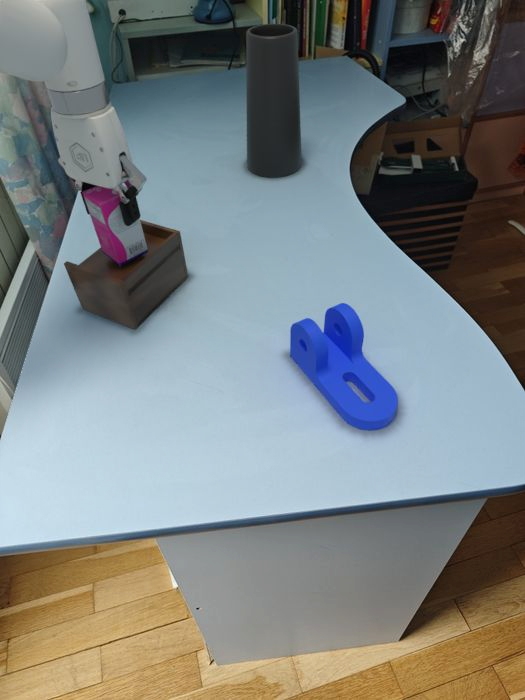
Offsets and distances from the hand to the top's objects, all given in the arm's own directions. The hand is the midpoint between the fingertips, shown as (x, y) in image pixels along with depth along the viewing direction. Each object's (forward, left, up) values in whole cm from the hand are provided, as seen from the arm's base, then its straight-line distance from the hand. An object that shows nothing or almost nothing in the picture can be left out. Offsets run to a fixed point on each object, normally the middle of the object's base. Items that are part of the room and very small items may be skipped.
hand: (114, 215), depth 77 cm
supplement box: (0, 0, -7) cm, 7 cm away
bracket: (+42, -3, -16) cm, 45 cm away
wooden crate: (0, 0, -16) cm, 16 cm away
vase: (0, +55, -16) cm, 57 cm away
